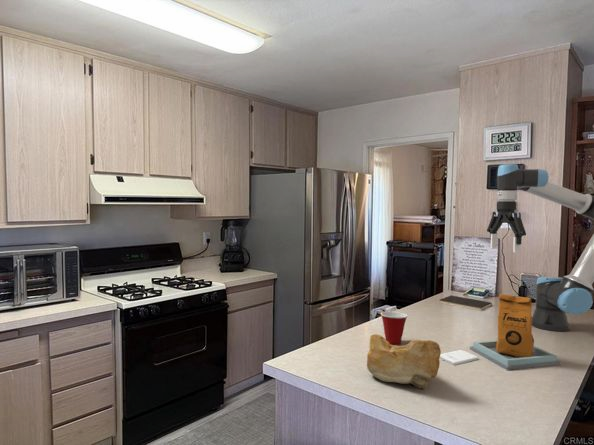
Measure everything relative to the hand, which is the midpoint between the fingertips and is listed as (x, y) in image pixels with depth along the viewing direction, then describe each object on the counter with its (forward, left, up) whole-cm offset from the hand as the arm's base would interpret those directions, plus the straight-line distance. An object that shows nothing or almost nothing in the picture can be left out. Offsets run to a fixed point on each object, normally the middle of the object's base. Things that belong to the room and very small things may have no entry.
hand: (504, 250), depth 175 cm
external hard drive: (+36, +20, -38) cm, 55 cm away
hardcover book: (-17, -49, -38) cm, 64 cm away
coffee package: (+14, +23, -36) cm, 45 cm away
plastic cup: (+51, 0, -37) cm, 63 cm away
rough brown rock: (+62, +32, -37) cm, 79 cm away
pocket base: (+14, +23, -37) cm, 45 cm away
